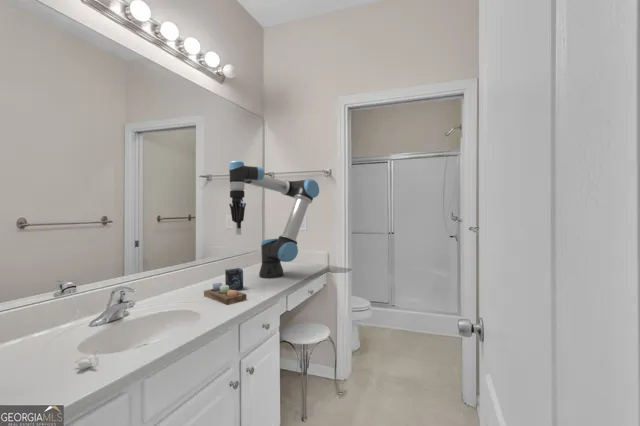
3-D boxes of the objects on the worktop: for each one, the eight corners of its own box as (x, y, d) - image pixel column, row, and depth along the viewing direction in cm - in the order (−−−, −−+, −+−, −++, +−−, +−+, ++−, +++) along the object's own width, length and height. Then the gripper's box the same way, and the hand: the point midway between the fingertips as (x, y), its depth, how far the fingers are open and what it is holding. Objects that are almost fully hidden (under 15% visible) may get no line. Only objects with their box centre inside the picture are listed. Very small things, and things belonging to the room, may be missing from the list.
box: (228, 291, 160) (228, 271, 160) (225, 289, 164) (224, 269, 164) (243, 289, 164) (243, 269, 164) (240, 287, 169) (239, 267, 169)
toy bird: (65, 368, 81) (71, 349, 83) (81, 367, 86) (87, 348, 87) (90, 371, 80) (96, 351, 81) (106, 369, 84) (111, 350, 86)
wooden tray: (222, 291, 160) (222, 286, 160) (246, 299, 144) (246, 294, 144) (204, 295, 153) (203, 290, 153) (226, 304, 137) (226, 298, 137)
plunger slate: (219, 290, 157) (219, 282, 157) (223, 291, 154) (223, 283, 154) (211, 292, 154) (211, 284, 154) (215, 293, 151) (215, 285, 151)
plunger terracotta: (234, 298, 147) (233, 289, 147) (238, 299, 144) (238, 290, 144) (225, 300, 144) (225, 291, 144) (230, 301, 141) (230, 292, 141)
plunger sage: (226, 292, 152) (226, 284, 152) (230, 294, 149) (230, 285, 149) (218, 294, 149) (218, 286, 149) (222, 296, 146) (222, 287, 146)
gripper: (224, 190, 169) (225, 234, 170) (237, 189, 160) (238, 235, 160) (236, 191, 175) (237, 233, 175) (249, 189, 166) (250, 234, 166)
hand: (238, 234), depth 168 cm, fingers closed
